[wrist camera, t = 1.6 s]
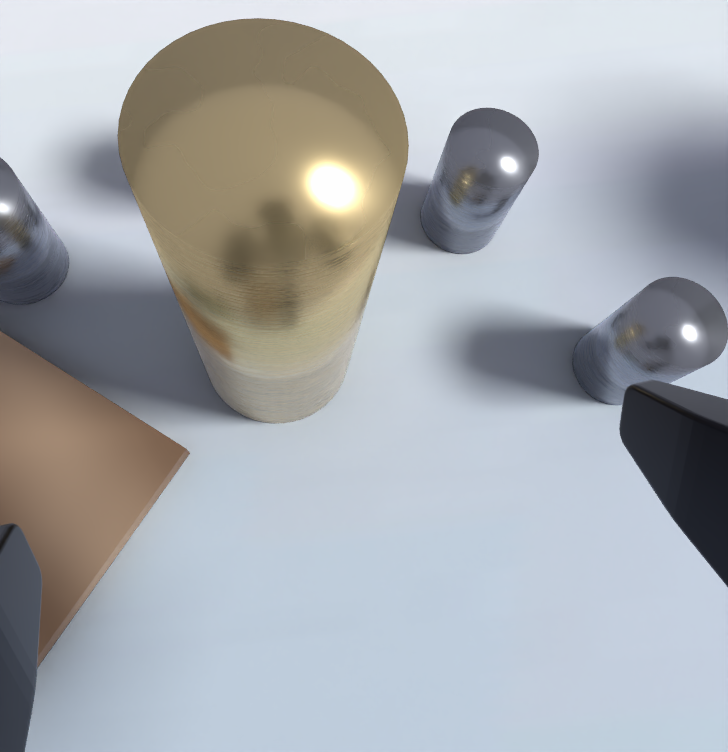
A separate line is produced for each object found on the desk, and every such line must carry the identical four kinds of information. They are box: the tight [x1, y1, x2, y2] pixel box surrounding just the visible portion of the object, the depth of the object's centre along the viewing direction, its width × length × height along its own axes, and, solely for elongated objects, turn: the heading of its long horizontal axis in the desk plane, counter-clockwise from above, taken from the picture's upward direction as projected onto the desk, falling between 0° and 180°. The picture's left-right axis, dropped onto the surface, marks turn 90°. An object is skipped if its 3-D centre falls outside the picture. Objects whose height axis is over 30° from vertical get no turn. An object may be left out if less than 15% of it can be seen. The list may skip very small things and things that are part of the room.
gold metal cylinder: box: [118, 18, 409, 423], centre depth 17 cm, size 5×5×12 cm
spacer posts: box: [0, 108, 728, 405], centre depth 22 cm, size 8×25×4 cm, turn 82°
